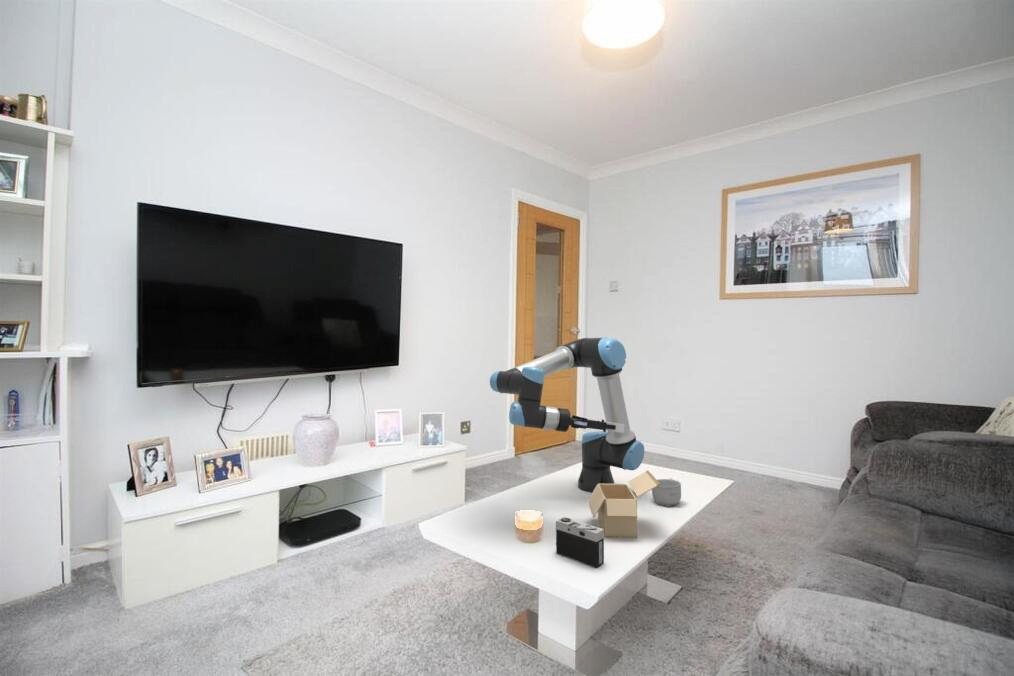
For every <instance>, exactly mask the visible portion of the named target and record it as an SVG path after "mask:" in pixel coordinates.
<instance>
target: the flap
mask: <svg viewBox="0 0 1014 676" xmlns="http://www.w3.org/2000/svg"><path fill="white" fill-rule="evenodd" d="M627 483H628V485H629V487H631V489H632V490H633V492H634V493H635V495H636V496H637V497H638V498H640V497H641V496H643V495H644V494H646V493H648V492H650V491H652V489H653V488H655V487H657V486H659V485H660V483H659V482H658V481H657V479H656V477H655V476H654V475H653V474H652V473H651V472H650V471H649V469H648V470H646V471H644V472H642V473H640V474H639V475H637V476H636V477H634V478H631V479H630V480H629V481H627Z"/></svg>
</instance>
